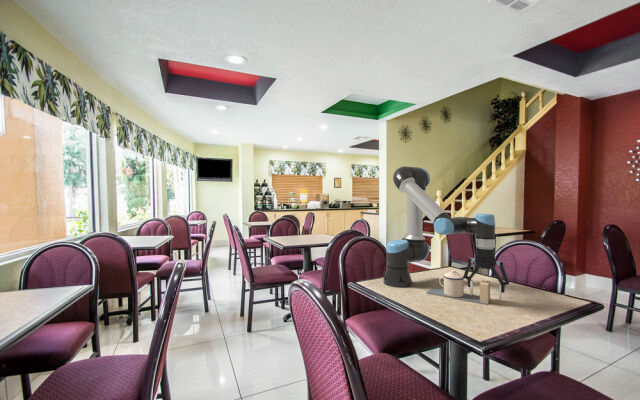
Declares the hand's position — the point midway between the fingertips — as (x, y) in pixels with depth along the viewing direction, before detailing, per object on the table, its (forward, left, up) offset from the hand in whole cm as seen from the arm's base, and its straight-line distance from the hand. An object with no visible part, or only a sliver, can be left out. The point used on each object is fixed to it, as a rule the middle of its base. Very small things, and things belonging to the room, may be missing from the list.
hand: (485, 297), depth 127 cm
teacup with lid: (-15, 0, -2) cm, 15 cm away
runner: (-12, 0, -2) cm, 12 cm away
